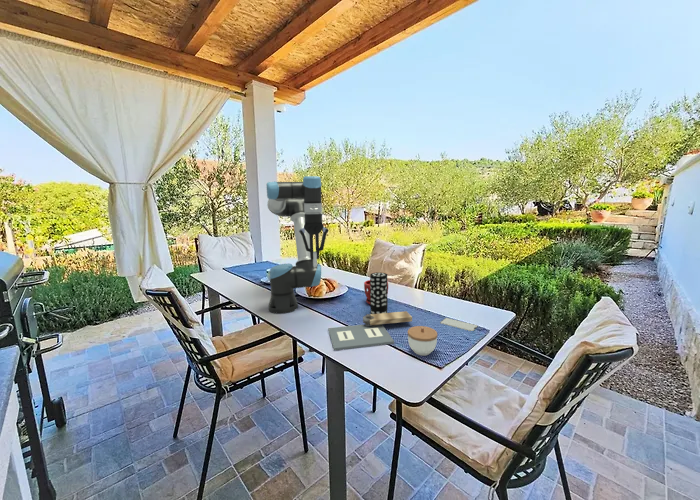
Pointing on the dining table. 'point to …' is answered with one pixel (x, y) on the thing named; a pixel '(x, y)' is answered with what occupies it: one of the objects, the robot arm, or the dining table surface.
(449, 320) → the smartphone
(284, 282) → the robot arm
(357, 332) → the label panel
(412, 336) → the lidded jar
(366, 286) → the plant pot
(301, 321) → the dining table surface
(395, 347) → the dining table surface
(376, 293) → the spotted tube
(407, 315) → the swing arm
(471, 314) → the dining table surface
